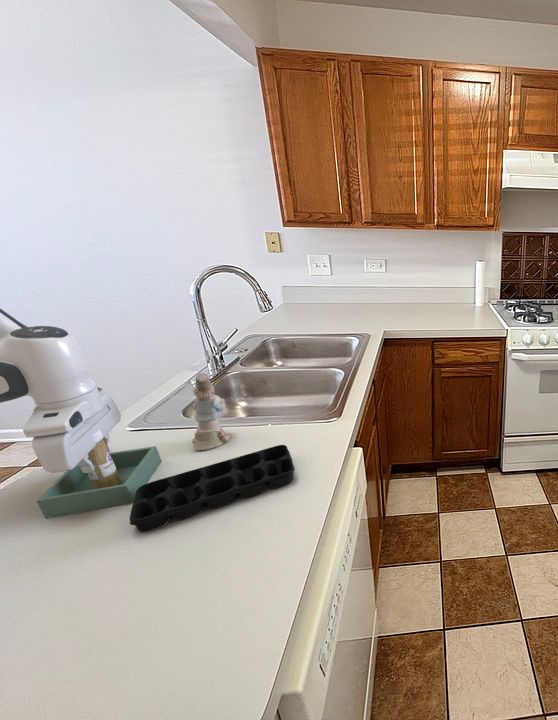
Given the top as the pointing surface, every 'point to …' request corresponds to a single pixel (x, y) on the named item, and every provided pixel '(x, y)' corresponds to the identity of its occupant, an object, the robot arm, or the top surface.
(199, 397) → the figurine
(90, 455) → the sprinkles bottle
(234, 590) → the top surface
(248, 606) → the top surface
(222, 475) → the egg carton
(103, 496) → the bin
